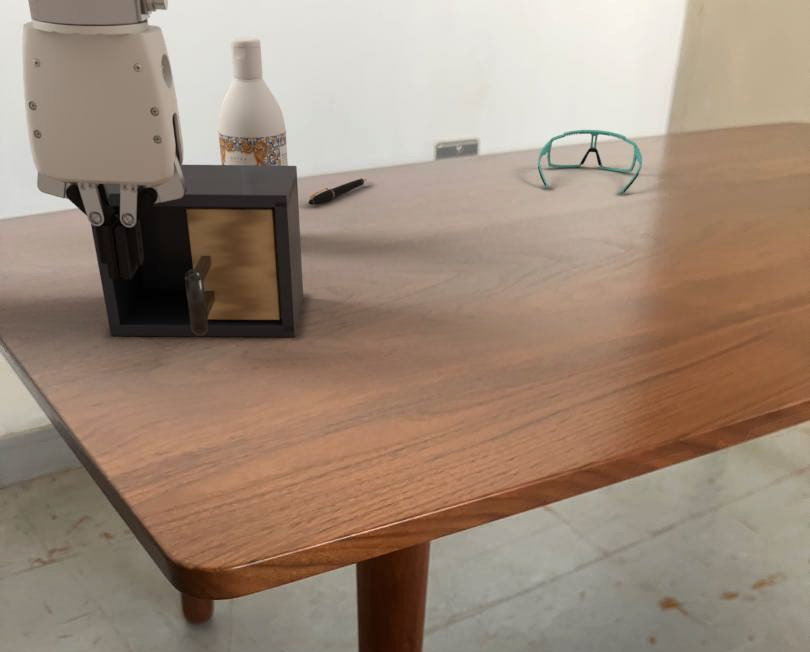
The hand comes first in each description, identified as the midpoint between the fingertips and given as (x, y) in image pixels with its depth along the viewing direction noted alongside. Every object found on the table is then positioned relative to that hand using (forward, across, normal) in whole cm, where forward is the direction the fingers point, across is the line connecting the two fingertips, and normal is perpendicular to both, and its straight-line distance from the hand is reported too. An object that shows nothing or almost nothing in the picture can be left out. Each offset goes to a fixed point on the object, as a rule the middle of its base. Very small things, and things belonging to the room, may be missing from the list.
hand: (124, 272), depth 72 cm
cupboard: (+7, -5, -10) cm, 13 cm away
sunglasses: (+7, -49, -62) cm, 79 cm away
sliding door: (+6, -8, -3) cm, 10 cm away
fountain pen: (+8, -15, -52) cm, 54 cm away
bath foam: (+8, -7, -32) cm, 33 cm away
